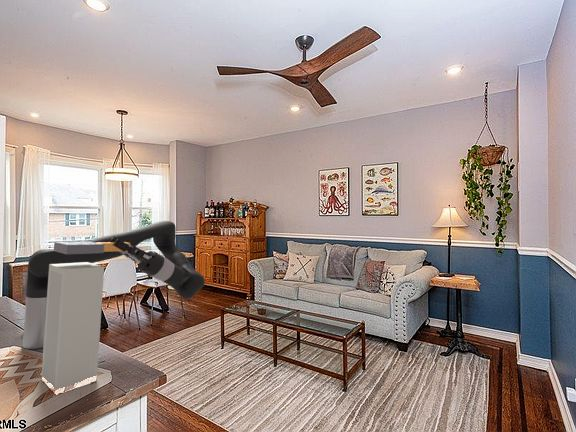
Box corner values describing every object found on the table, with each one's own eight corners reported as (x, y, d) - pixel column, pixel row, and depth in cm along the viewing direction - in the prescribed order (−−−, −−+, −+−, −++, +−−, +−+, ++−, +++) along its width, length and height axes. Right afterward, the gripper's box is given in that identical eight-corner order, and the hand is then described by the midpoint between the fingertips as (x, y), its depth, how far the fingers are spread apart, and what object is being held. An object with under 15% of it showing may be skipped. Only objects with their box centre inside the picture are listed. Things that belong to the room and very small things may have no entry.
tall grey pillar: (41, 379, 87) (49, 264, 88) (79, 368, 94) (87, 262, 95) (55, 395, 79) (64, 269, 80) (96, 381, 87) (104, 266, 88)
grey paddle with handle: (53, 250, 88) (54, 242, 88) (120, 249, 102) (120, 241, 102) (66, 254, 81) (67, 244, 82) (135, 251, 96) (135, 243, 96)
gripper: (162, 279, 101) (116, 254, 89) (140, 273, 110) (95, 250, 98) (174, 258, 104) (130, 232, 93) (152, 254, 113) (109, 229, 101)
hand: (113, 241), depth 95 cm, fingers closed on grey paddle with handle, 3 cm apart
